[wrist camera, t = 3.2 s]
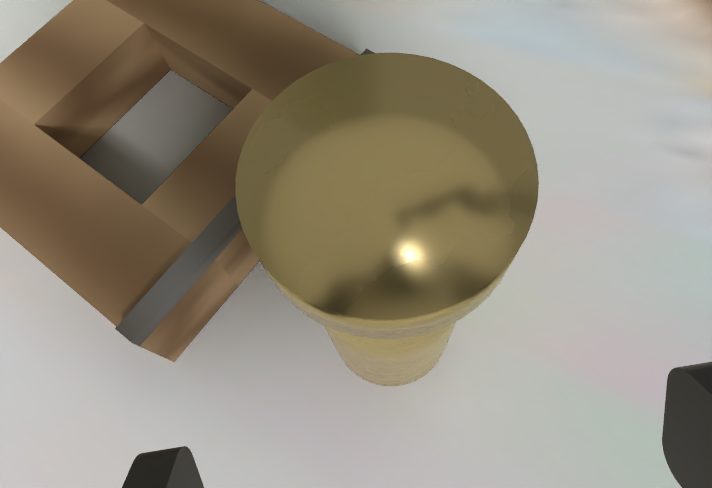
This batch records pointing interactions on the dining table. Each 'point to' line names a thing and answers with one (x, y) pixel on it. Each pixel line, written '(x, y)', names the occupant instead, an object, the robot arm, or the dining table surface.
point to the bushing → (387, 203)
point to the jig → (180, 190)
